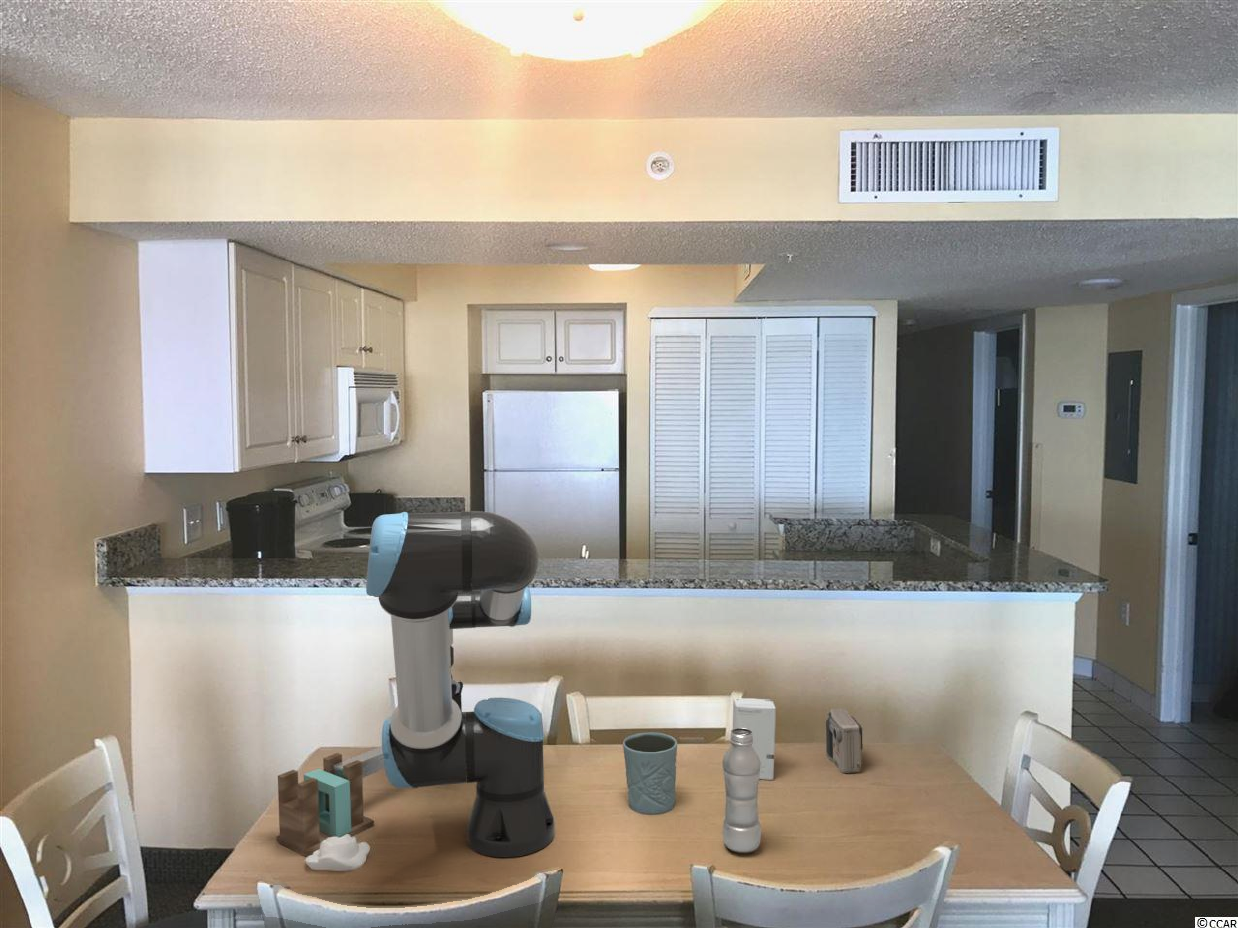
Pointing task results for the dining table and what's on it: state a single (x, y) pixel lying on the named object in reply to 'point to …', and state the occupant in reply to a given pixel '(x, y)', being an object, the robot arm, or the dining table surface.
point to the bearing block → (315, 807)
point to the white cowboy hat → (339, 854)
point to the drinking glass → (650, 772)
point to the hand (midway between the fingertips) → (436, 761)
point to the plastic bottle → (741, 793)
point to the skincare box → (758, 729)
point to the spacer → (333, 802)
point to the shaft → (364, 763)
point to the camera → (843, 740)
